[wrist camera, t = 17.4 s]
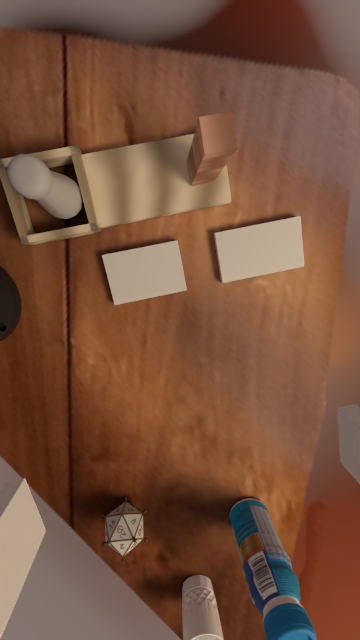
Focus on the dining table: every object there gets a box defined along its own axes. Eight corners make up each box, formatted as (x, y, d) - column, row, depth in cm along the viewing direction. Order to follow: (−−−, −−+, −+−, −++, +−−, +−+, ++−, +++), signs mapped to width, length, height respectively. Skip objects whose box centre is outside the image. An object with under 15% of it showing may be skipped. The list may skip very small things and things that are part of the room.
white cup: (213, 569, 58) (224, 631, 49) (214, 595, 60) (225, 660, 50) (178, 574, 58) (182, 638, 48) (180, 600, 60) (184, 666, 50)
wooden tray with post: (31, 245, 40) (-28, 238, 28) (7, 167, 38) (-71, 120, 25) (229, 206, 42) (261, 182, 29) (219, 128, 39) (248, 64, 26)
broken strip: (115, 303, 44) (114, 305, 43) (103, 255, 42) (101, 255, 41) (300, 266, 45) (304, 266, 44) (296, 217, 43) (300, 216, 42)
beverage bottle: (269, 495, 55) (329, 623, 36) (263, 527, 57) (318, 666, 37) (229, 496, 54) (269, 627, 35) (225, 528, 56) (261, 670, 37)
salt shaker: (63, 171, 39) (17, 128, 26) (94, 199, 40) (65, 171, 27) (39, 202, 39) (-17, 175, 27) (71, 229, 41) (31, 215, 28)
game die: (119, 492, 56) (82, 518, 48) (150, 485, 53) (116, 513, 44) (130, 539, 54) (93, 576, 45) (163, 536, 51) (130, 575, 42)
